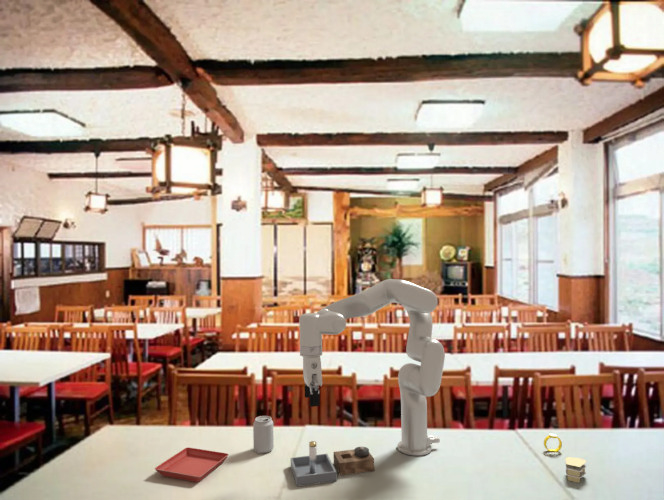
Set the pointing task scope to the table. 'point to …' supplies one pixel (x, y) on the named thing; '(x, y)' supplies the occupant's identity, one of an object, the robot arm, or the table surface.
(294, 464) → the tray
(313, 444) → the lock pin
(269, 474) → the table surface
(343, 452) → the block
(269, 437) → the can
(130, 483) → the table surface
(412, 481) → the table surface
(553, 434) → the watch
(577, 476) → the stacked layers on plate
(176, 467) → the plant saucer
